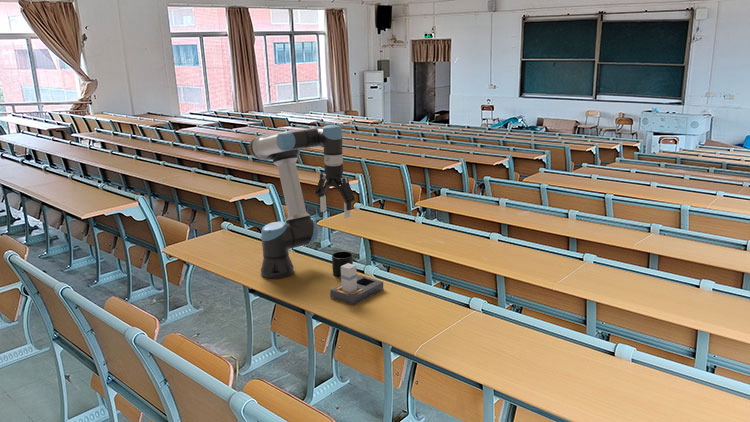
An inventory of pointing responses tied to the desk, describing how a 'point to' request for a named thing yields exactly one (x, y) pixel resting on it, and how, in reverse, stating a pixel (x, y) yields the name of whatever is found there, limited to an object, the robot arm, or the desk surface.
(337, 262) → the mug
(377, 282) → the jack panel
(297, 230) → the robot arm
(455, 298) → the desk surface
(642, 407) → the desk surface
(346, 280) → the plug
